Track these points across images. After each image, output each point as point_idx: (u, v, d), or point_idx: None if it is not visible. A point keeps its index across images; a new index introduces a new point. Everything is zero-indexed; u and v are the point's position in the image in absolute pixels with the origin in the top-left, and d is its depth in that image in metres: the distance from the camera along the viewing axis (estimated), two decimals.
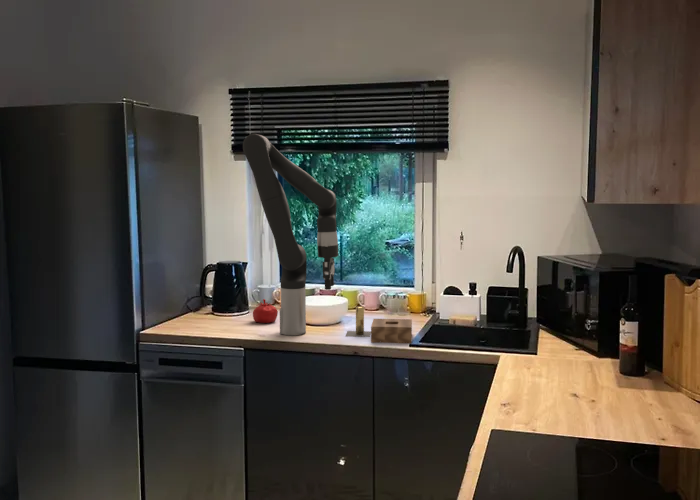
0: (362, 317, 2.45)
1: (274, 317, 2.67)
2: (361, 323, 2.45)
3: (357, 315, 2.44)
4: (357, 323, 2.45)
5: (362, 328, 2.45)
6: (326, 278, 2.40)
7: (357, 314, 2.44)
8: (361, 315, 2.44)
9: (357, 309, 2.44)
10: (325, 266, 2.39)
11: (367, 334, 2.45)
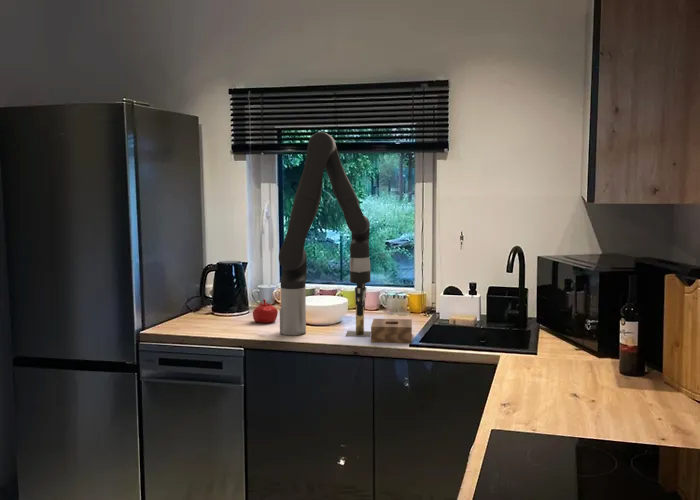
0: (362, 317, 2.45)
1: (274, 317, 2.67)
2: (361, 323, 2.45)
3: (357, 315, 2.44)
4: (357, 323, 2.45)
5: (362, 328, 2.45)
6: (359, 304, 2.39)
7: None
8: None
9: None
10: (358, 292, 2.38)
11: (367, 334, 2.45)
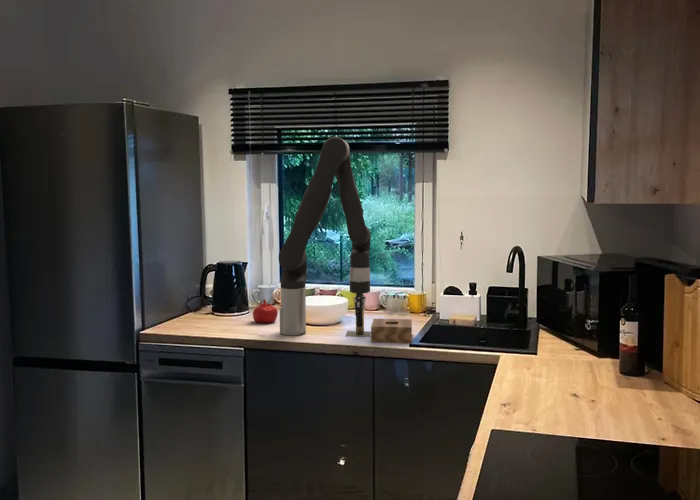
0: None
1: (274, 317, 2.67)
2: None
3: None
4: None
5: (362, 328, 2.45)
6: (358, 316, 2.42)
7: None
8: None
9: None
10: (357, 306, 2.39)
11: (367, 334, 2.45)
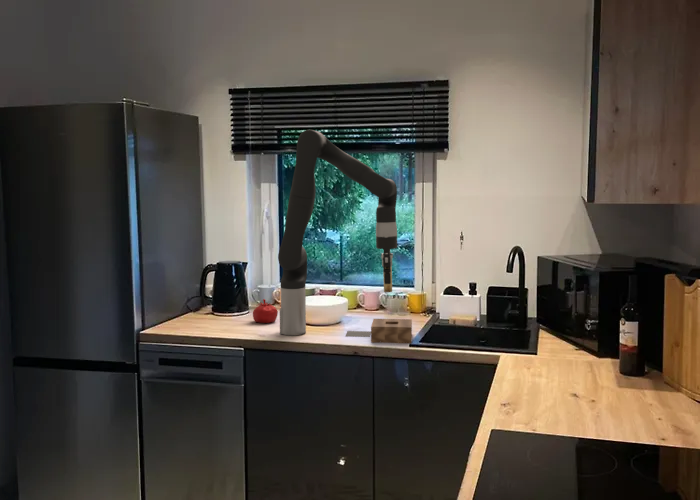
0: None
1: (274, 317, 2.67)
2: None
3: None
4: None
5: (391, 286, 2.38)
6: (386, 272, 2.35)
7: None
8: None
9: None
10: (386, 262, 2.32)
11: (367, 334, 2.45)
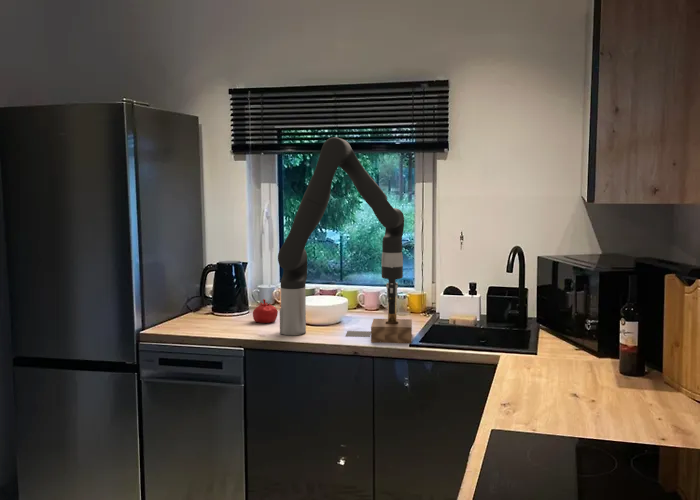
0: (395, 304, 2.37)
1: (274, 317, 2.67)
2: None
3: None
4: None
5: (395, 315, 2.37)
6: (391, 302, 2.34)
7: None
8: None
9: None
10: (390, 292, 2.32)
11: (367, 334, 2.45)
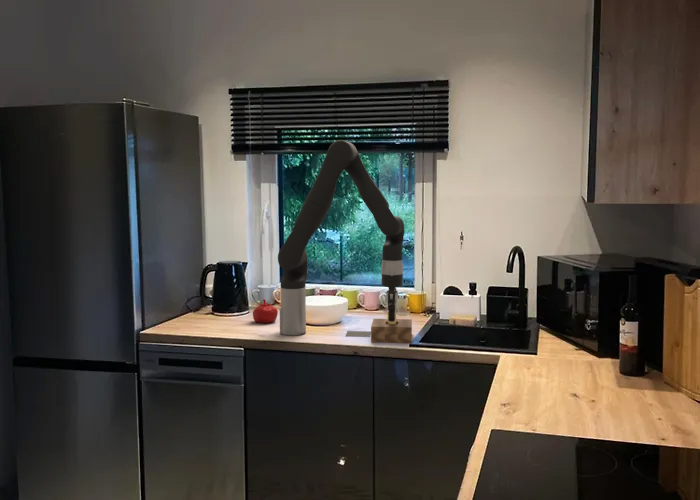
0: (394, 322, 2.37)
1: (274, 317, 2.67)
2: None
3: None
4: None
5: None
6: (391, 309, 2.33)
7: None
8: None
9: None
10: (390, 298, 2.31)
11: (367, 334, 2.45)
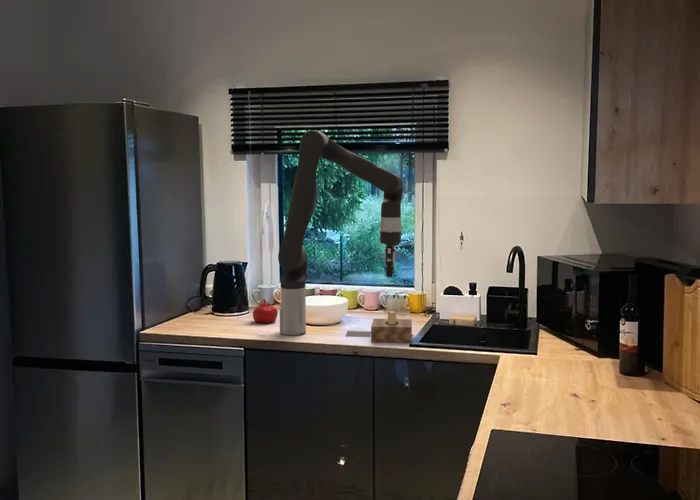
0: (394, 322, 2.37)
1: (274, 317, 2.67)
2: None
3: (389, 320, 2.37)
4: None
5: None
6: (388, 265, 2.32)
7: (389, 319, 2.37)
8: (393, 320, 2.37)
9: (389, 314, 2.37)
10: (388, 252, 2.31)
11: (367, 334, 2.45)
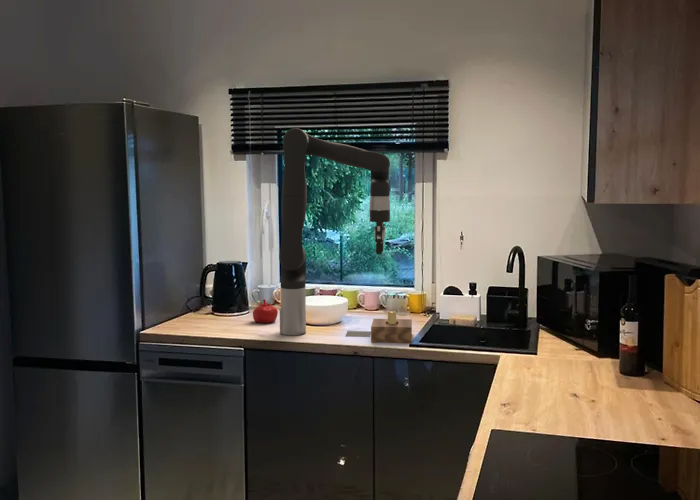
0: (394, 322, 2.37)
1: (274, 317, 2.67)
2: None
3: (389, 320, 2.37)
4: None
5: None
6: (378, 242, 2.40)
7: (389, 319, 2.37)
8: (393, 320, 2.37)
9: (389, 314, 2.37)
10: (378, 230, 2.39)
11: (367, 334, 2.45)
